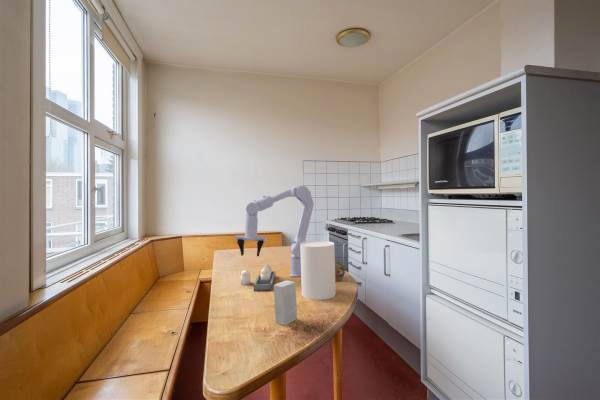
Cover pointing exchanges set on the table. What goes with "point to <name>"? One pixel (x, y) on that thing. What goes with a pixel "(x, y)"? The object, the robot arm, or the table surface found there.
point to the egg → (245, 277)
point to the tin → (339, 271)
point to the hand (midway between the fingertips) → (250, 255)
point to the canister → (318, 270)
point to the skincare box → (285, 302)
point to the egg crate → (265, 279)
